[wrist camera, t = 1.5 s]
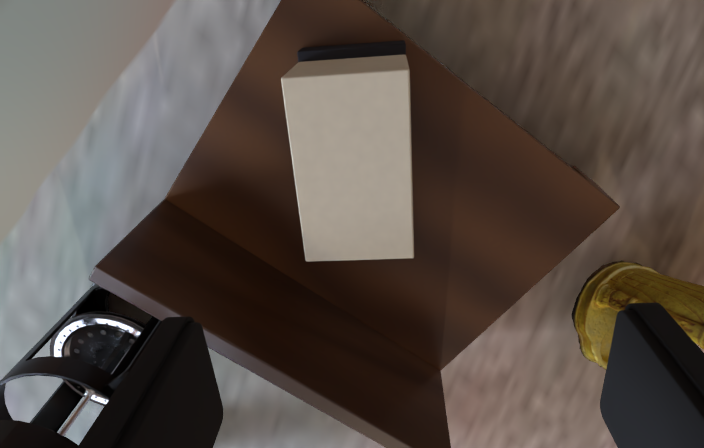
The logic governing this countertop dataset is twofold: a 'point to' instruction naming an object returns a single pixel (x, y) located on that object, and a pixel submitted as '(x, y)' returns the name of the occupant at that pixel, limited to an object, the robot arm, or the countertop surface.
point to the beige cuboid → (352, 150)
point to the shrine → (632, 287)
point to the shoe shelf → (354, 275)
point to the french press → (76, 368)
